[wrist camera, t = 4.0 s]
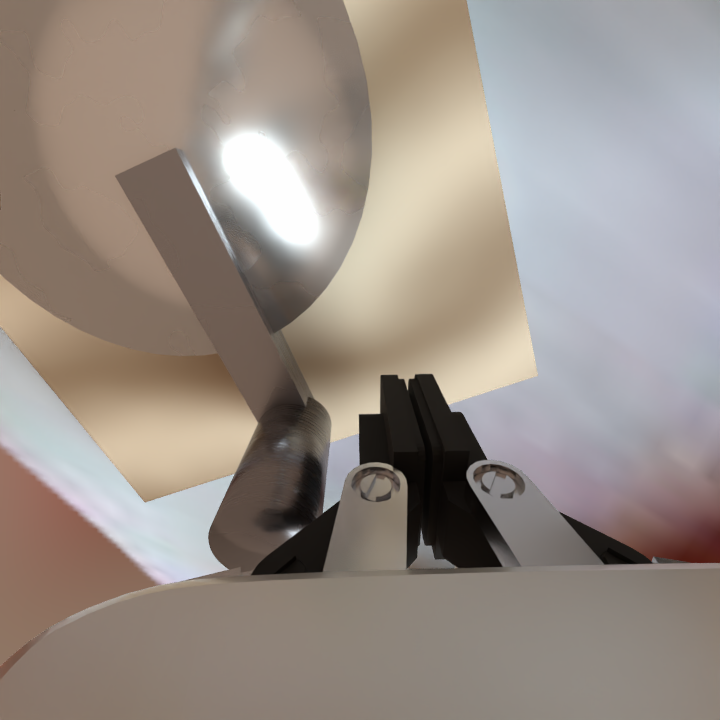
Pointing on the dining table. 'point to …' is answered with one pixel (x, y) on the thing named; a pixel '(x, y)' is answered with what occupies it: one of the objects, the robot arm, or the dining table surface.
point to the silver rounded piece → (192, 203)
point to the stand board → (337, 279)
